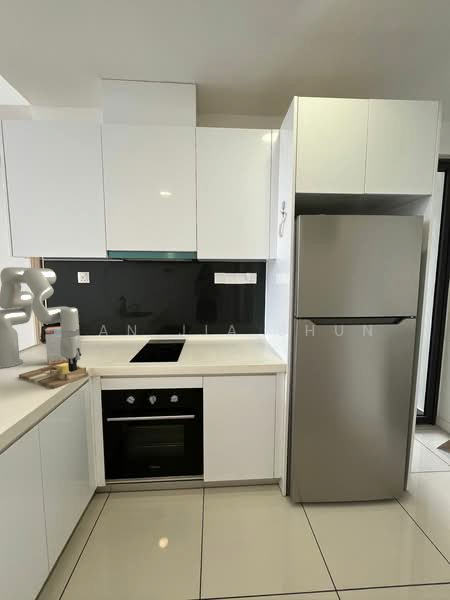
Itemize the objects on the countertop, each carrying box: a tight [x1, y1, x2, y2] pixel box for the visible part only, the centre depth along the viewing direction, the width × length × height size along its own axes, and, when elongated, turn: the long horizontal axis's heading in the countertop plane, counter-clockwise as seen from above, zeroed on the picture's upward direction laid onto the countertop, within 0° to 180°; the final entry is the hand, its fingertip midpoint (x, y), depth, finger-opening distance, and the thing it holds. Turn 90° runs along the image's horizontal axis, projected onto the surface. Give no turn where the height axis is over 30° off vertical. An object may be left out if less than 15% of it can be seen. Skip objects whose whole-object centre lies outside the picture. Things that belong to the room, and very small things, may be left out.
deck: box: [18, 364, 89, 390], centre depth 133 cm, size 29×17×2 cm, turn 62°
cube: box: [55, 363, 70, 373], centre depth 133 cm, size 4×4×4 cm
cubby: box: [49, 365, 87, 381], centre depth 131 cm, size 13×10×3 cm
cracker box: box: [44, 326, 69, 366], centre depth 154 cm, size 14×6×21 cm, turn 108°
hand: (73, 370), depth 129 cm, fingers closed
